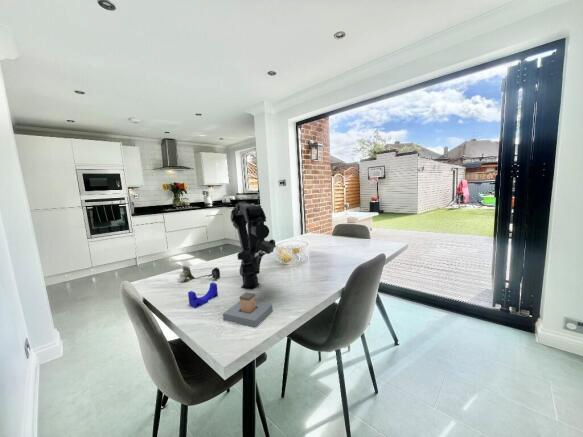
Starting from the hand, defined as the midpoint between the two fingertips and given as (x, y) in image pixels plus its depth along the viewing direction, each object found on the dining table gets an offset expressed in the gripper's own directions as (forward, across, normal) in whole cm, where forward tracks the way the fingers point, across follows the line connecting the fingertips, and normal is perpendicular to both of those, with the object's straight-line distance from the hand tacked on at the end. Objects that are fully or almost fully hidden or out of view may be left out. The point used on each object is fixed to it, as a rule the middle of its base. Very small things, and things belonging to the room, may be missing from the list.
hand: (257, 270), depth 104 cm
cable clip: (+12, -12, +20) cm, 26 cm away
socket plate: (+12, -15, -5) cm, 20 cm away
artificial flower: (+12, +6, +42) cm, 45 cm away
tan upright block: (+12, -15, -5) cm, 20 cm away
